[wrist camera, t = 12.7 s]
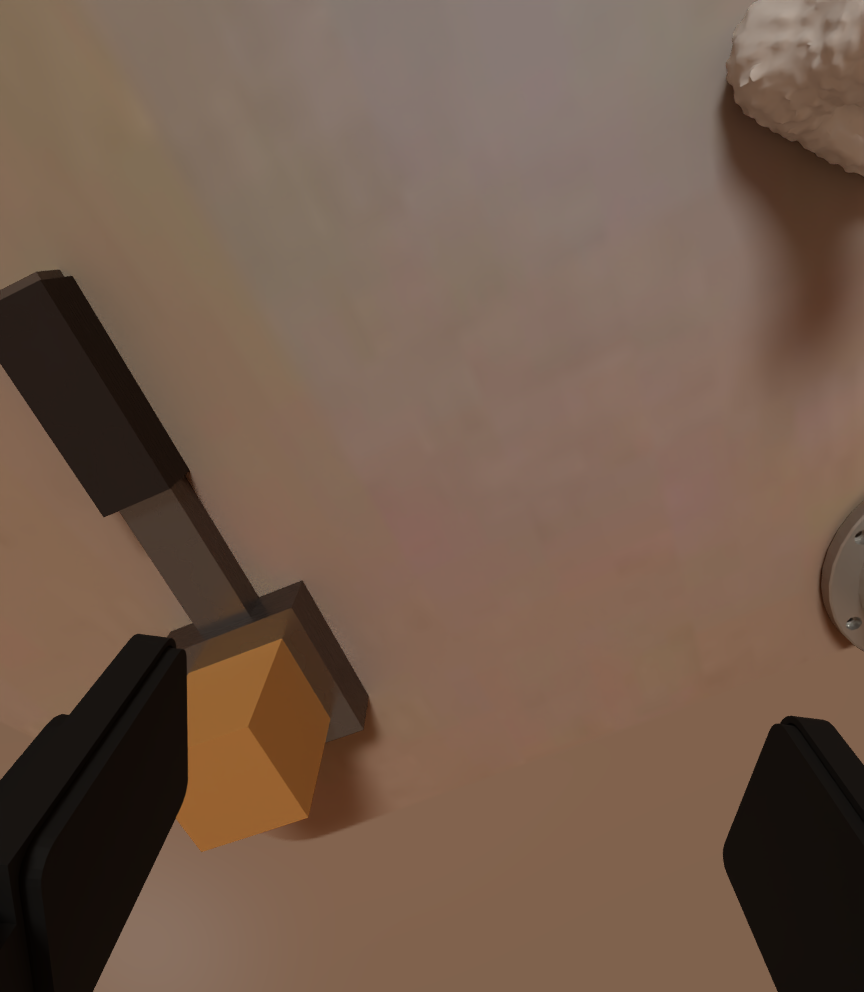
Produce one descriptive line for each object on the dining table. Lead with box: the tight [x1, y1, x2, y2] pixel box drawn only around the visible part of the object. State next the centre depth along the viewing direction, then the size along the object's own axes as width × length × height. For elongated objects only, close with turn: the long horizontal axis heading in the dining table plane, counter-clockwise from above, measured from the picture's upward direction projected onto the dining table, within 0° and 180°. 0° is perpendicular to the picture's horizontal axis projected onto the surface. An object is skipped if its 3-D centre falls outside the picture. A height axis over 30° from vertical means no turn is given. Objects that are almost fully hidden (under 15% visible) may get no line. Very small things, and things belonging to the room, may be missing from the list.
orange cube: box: [176, 639, 330, 852], centre depth 35 cm, size 6×6×7 cm
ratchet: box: [0, 270, 369, 743], centre depth 35 cm, size 29×9×6 cm, turn 23°
